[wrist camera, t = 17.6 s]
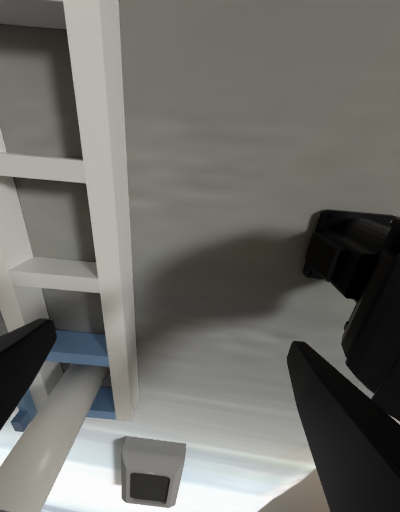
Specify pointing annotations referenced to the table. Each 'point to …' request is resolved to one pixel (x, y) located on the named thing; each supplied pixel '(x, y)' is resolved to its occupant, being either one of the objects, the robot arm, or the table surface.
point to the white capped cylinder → (48, 440)
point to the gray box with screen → (151, 471)
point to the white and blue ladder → (101, 212)
